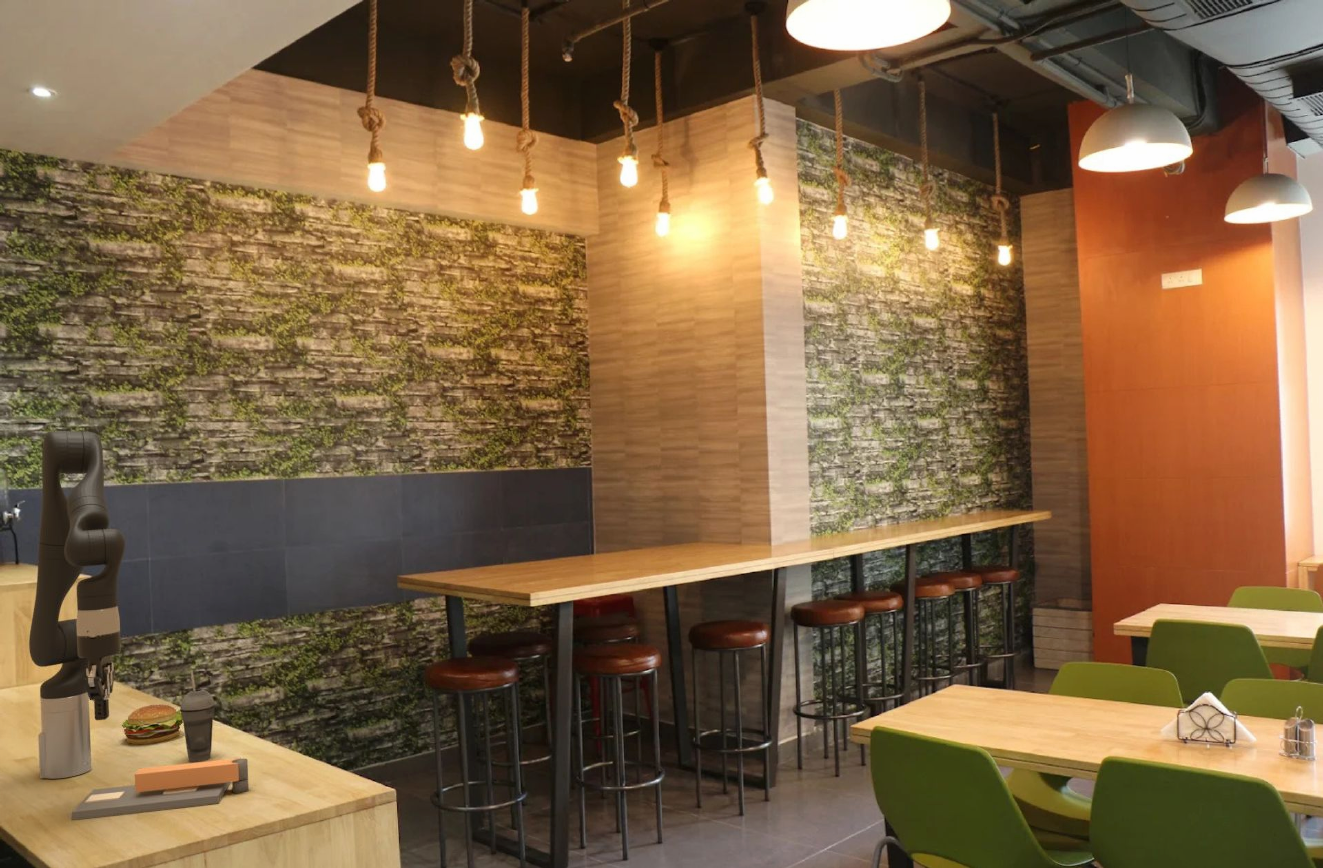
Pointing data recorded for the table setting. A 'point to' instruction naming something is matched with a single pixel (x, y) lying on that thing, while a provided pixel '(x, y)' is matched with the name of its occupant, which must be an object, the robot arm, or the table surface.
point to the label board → (151, 799)
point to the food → (152, 724)
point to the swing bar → (191, 774)
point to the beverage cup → (198, 723)
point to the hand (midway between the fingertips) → (102, 718)
